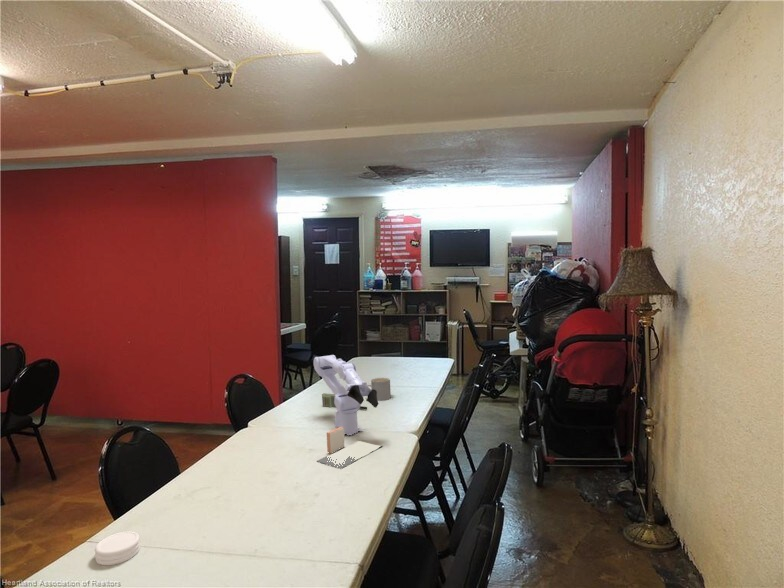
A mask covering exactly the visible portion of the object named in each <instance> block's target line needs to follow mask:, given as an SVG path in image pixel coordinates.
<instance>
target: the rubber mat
mask: <svg viewBox="0 0 784 588" xmlns="http://www.w3.org/2000/svg"><path fill="white" fill-rule="evenodd" d="M327 456H328V455H326V456H324V457H322V458H320V459H318V460H316V462H317V463H319V462H320V464H323V463H325V464H324V465H326V464H328V465H327V466H329V465H331V466H330V467H333V466H334V465H335V464H334V463H333V462H331V461H332V459H331V461H330V458H331V457H330V458H329V457H328V458H329V460H328V458H327ZM354 458H355V457H354ZM354 458H353V459H352V457H351V458H350V456H349V457H348V458H347V459H346V461H345V460H344V461H345V464H343V463H344V462H343V463H342V465H343V466H342V465H341V464H340V463H339V465H340V466H339V465H338V464H336V465H335V467H334V468H336V467H337V466H338V468H337V469H339V468H342V469H344V468H345V466H346V465H348V464H350V463H351V464H353V463H355V462H357V461H356V460H355V459H354ZM336 460H337V459H336ZM351 460H352V461H351ZM354 460H355V462H354ZM327 461H328V462H327ZM329 461H330V462H329ZM333 461H334V460H333ZM352 462H353V463H352ZM335 463H336V461H335ZM351 464H350V465H351ZM348 466H349V465H348ZM343 467H344V468H343ZM346 467H347V466H346Z"/></svg>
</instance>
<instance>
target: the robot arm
mask: <svg viewBox="0 0 784 588" xmlns="http://www.w3.org/2000/svg"><path fill="white" fill-rule="evenodd" d="M312 362H313V367H314V371H315V372H316V374H318V376H319V377H321V378H322V380H323V381H324V383H325V384H326V386H327V387H328V388H329V389H330V391H331V392H332V394H334V395H335V399H334V404H335V406H336V408H335V409H336V412H335V414H334V427H335V428H334V429H336V428H339V427H344V433H345V434H348V435H347V436H349V435H351V436H353V435H355V434H357V433H359V432H358V431H360V432H361V430H362V431H363V429H362V428H359V425H358V412H359V410H360V409H359V408H360V406H361V405H362V404H363V403H364V401H366V402H367V403H369V404H370V405H371V406H372V407H373V408H377V407H378V405H379V401H378V400H377V391H376V390H374V389H372V390H371V387H370V386H366V385H367V384H368V382H367V381H364V380H362V378H361V377H360V376H359V374H358V372H357V369H356V365H355V363H354V362H350V363H348V362H346V361H345V360H343V359H342V358H337V357H336V355H334V354H330V355H323V356H314V358H313V361H312ZM336 374H338V376H339V379H338V377H337V376H336ZM340 379H342V380H343V381H344V382H345V383H346V385H345V386H344V385H343V384H342V383H341V381H340ZM364 397H367V398H366V399H364ZM356 432H357V433H356ZM354 433H355V434H354ZM345 434H344V435H345ZM352 434H353V435H352Z"/></svg>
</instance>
